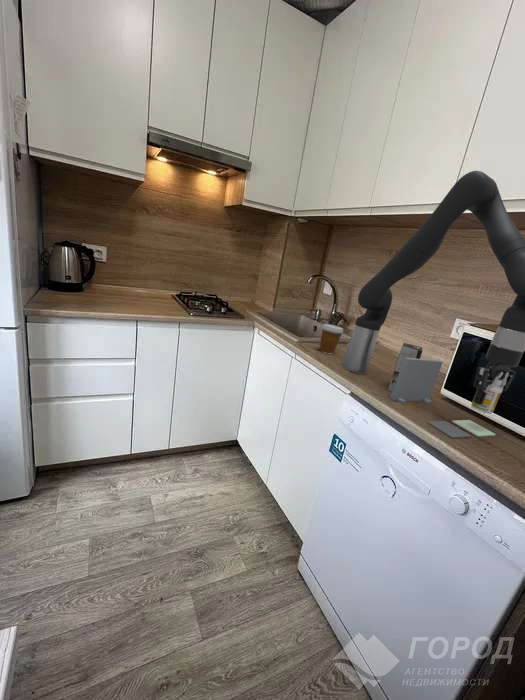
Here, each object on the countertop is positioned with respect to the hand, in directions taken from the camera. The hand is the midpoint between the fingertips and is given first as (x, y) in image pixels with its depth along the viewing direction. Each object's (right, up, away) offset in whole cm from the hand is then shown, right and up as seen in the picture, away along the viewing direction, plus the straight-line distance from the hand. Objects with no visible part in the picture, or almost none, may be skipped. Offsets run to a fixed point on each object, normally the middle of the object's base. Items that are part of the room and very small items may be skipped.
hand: (483, 403), depth 93 cm
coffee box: (-15, +1, +23) cm, 27 cm away
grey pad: (-11, -7, -3) cm, 14 cm away
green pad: (-2, -8, +2) cm, 8 cm away
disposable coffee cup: (-34, +14, +55) cm, 66 cm away
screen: (-14, -1, +15) cm, 21 cm away
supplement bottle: (0, -2, +1) cm, 2 cm away
